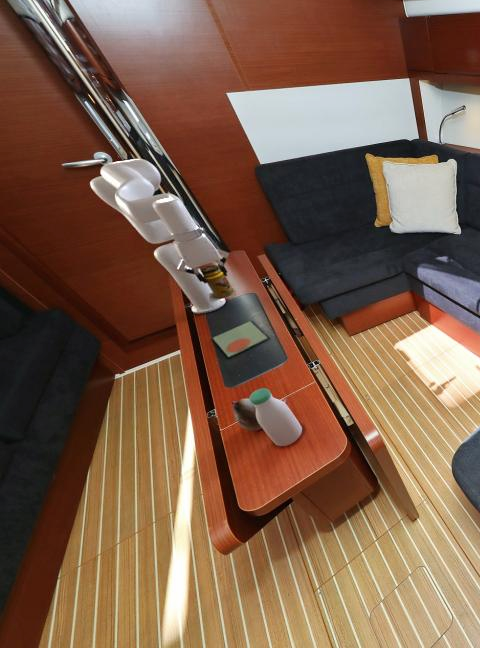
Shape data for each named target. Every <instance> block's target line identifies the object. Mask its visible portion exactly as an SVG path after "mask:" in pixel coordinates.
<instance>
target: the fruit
mask: <svg viewBox="0 0 480 648" xmlns="http://www.w3.org/2000/svg"><path fill="white" fill-rule="evenodd" d="M230 403H231V405H233V407H232V411H233V413H234V419H235V422H236V423H237V424H238V425H239V426H240V427H242V428H243V429H245V430H247V431H251V432H252V431H259V430H261V429H263V428H262V427H261V426H260V424H259V423H258V421H257V418H256V406H254V405H253V404H252V403H251V401H250V398H242V399H239V400H238V401H234V400H231V401H230Z"/></svg>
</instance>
